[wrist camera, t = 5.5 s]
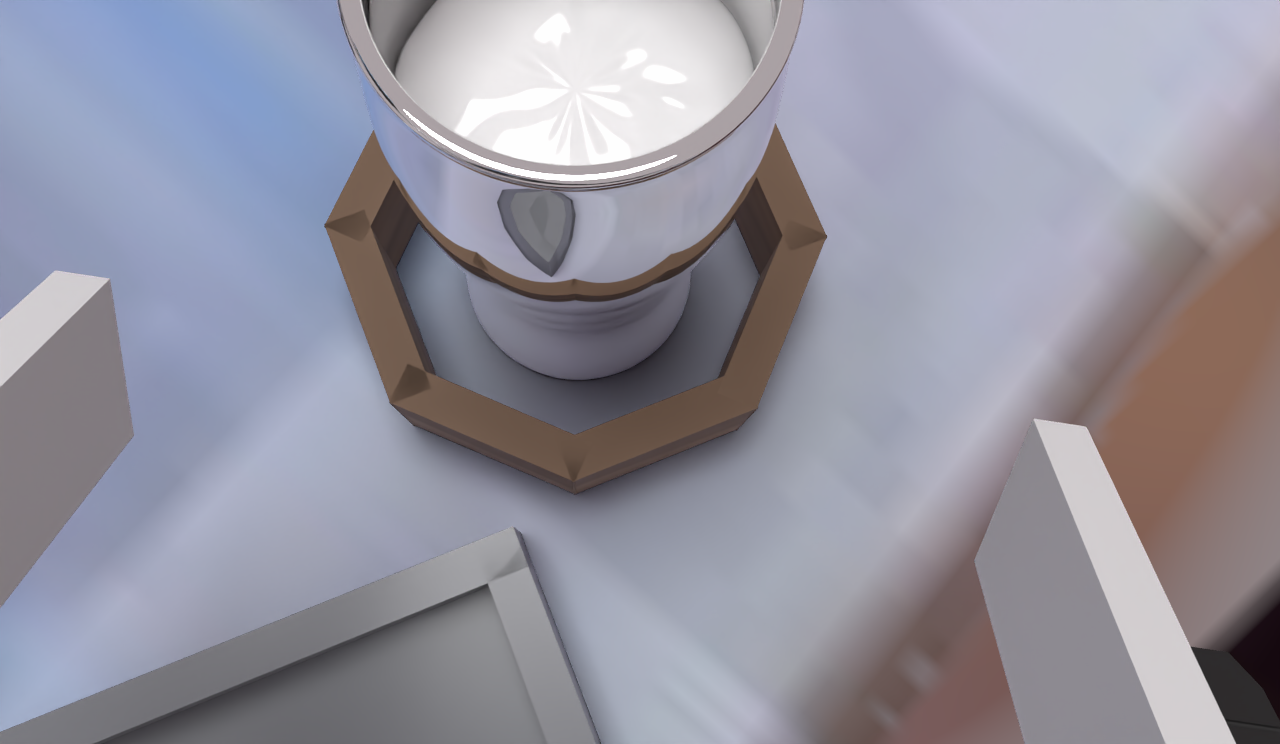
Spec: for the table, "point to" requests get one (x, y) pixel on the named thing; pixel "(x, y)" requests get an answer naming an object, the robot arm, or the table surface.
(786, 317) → the ring holder
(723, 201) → the beer glass
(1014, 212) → the table surface
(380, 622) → the tray
